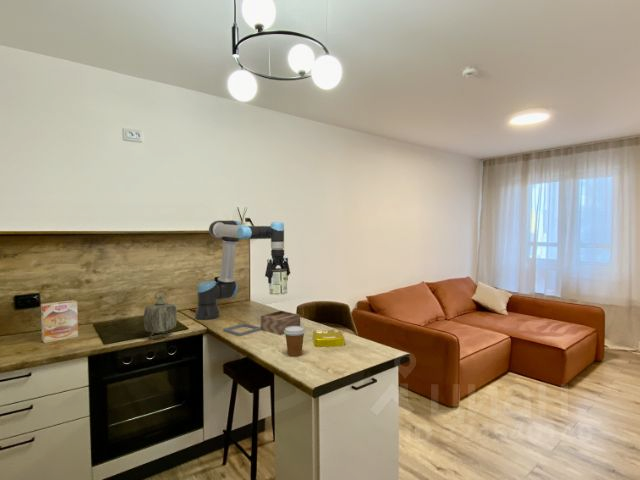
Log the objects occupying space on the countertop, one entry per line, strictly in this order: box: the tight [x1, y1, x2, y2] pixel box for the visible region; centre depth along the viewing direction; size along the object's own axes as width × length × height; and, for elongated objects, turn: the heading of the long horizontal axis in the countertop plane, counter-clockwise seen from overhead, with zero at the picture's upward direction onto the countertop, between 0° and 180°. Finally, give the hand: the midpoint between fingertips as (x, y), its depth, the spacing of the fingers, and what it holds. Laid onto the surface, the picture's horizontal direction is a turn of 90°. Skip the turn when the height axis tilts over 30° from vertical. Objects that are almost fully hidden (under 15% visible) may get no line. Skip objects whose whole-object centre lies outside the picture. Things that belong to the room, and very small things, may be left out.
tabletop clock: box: [143, 290, 178, 340], centre depth 190 cm, size 14×9×25 cm, turn 152°
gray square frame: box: [222, 322, 262, 337], centre depth 201 cm, size 15×15×2 cm
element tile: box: [312, 329, 345, 348], centre depth 180 cm, size 15×15×5 cm
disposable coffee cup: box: [284, 325, 306, 357], centre depth 162 cm, size 10×10×12 cm
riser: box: [260, 310, 301, 336], centre depth 203 cm, size 16×16×8 cm
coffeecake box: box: [40, 299, 79, 344], centre depth 188 cm, size 15×7×20 cm, turn 137°
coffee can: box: [269, 267, 288, 296], centre depth 202 cm, size 10×10×14 cm
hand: (278, 287), depth 202 cm, fingers closed on coffee can, 10 cm apart
